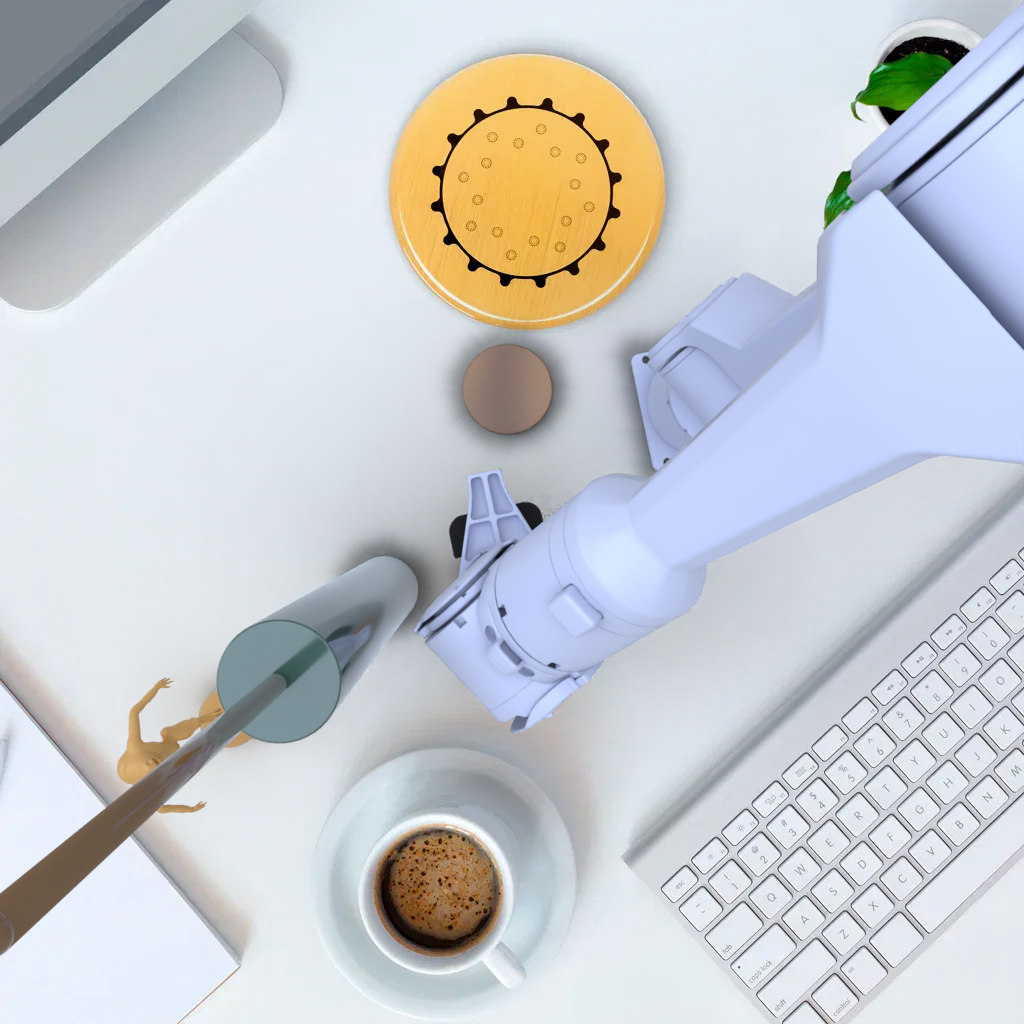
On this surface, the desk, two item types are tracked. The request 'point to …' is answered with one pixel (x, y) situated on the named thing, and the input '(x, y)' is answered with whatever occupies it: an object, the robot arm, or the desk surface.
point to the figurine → (166, 742)
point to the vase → (240, 715)
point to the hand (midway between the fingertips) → (509, 580)
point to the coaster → (507, 389)
